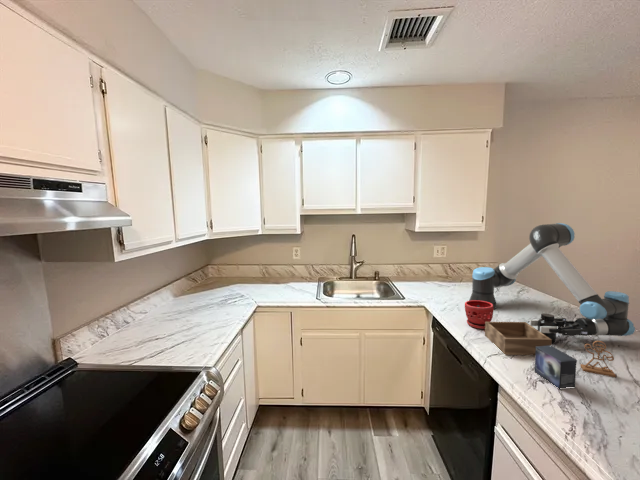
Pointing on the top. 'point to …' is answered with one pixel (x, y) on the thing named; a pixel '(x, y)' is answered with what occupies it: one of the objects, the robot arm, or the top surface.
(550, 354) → the small box
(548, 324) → the supplement bottle
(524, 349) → the walnut box
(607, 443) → the top surface
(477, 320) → the plant pot
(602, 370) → the gingerbread man figurine
